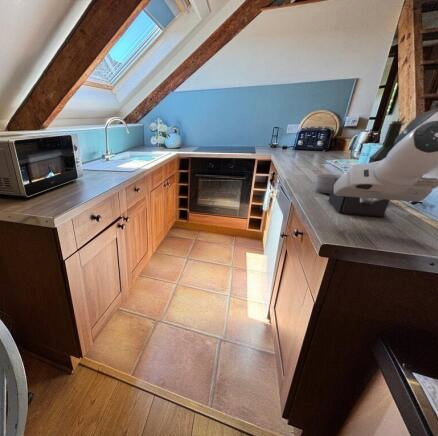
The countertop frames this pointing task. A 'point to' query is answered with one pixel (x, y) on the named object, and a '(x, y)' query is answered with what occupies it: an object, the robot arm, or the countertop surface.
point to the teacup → (325, 182)
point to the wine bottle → (387, 142)
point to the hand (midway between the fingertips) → (365, 201)
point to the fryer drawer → (364, 206)
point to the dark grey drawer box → (342, 202)
